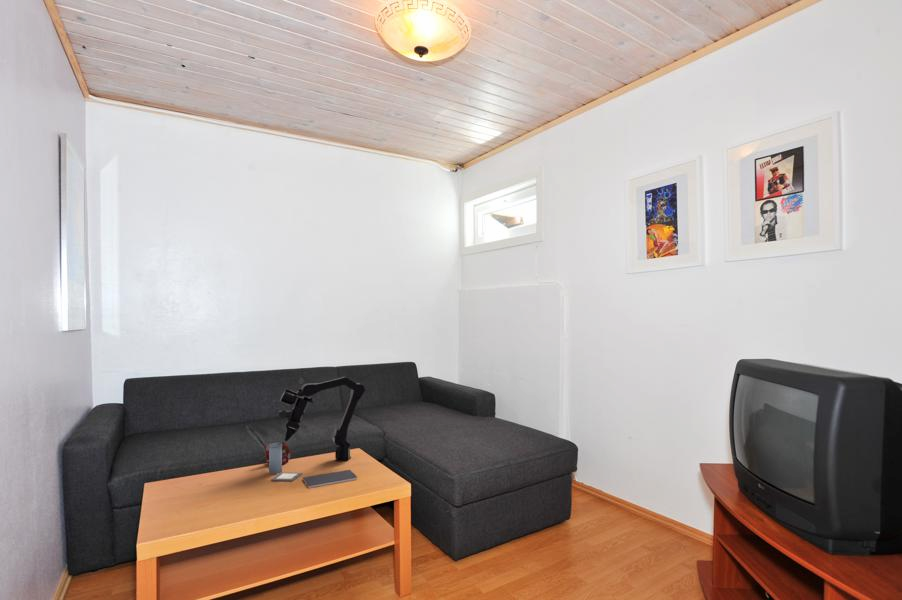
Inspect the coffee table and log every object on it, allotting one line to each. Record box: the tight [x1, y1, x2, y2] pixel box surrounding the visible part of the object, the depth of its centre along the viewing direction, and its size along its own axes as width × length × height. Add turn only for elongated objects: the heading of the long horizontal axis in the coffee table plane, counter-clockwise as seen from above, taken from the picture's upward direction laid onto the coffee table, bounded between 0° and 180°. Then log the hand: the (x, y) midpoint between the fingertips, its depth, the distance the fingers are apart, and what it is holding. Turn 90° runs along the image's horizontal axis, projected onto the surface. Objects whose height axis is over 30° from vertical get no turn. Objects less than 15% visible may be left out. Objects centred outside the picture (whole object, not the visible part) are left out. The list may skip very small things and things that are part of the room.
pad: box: [270, 472, 303, 482], centre depth 208 cm, size 10×10×1 cm
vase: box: [268, 442, 283, 475], centre depth 217 cm, size 6×6×13 cm
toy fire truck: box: [264, 441, 291, 465], centre depth 231 cm, size 7×12×10 cm, turn 125°
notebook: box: [302, 469, 358, 489], centre depth 204 cm, size 13×2×21 cm
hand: (285, 439), depth 225 cm, fingers open, 9 cm apart
